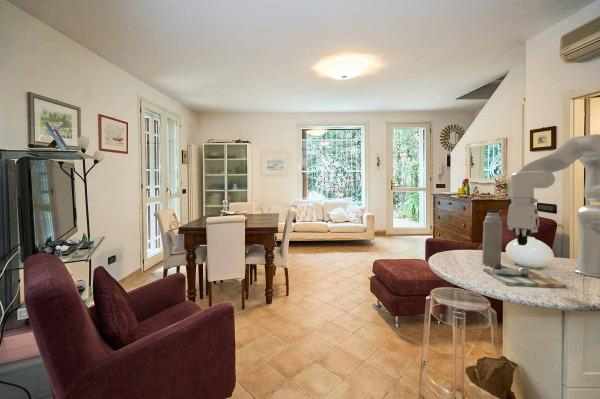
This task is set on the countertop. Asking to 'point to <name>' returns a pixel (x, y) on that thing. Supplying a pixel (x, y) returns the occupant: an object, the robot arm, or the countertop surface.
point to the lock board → (525, 279)
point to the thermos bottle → (492, 239)
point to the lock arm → (511, 271)
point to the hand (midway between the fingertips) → (522, 244)
